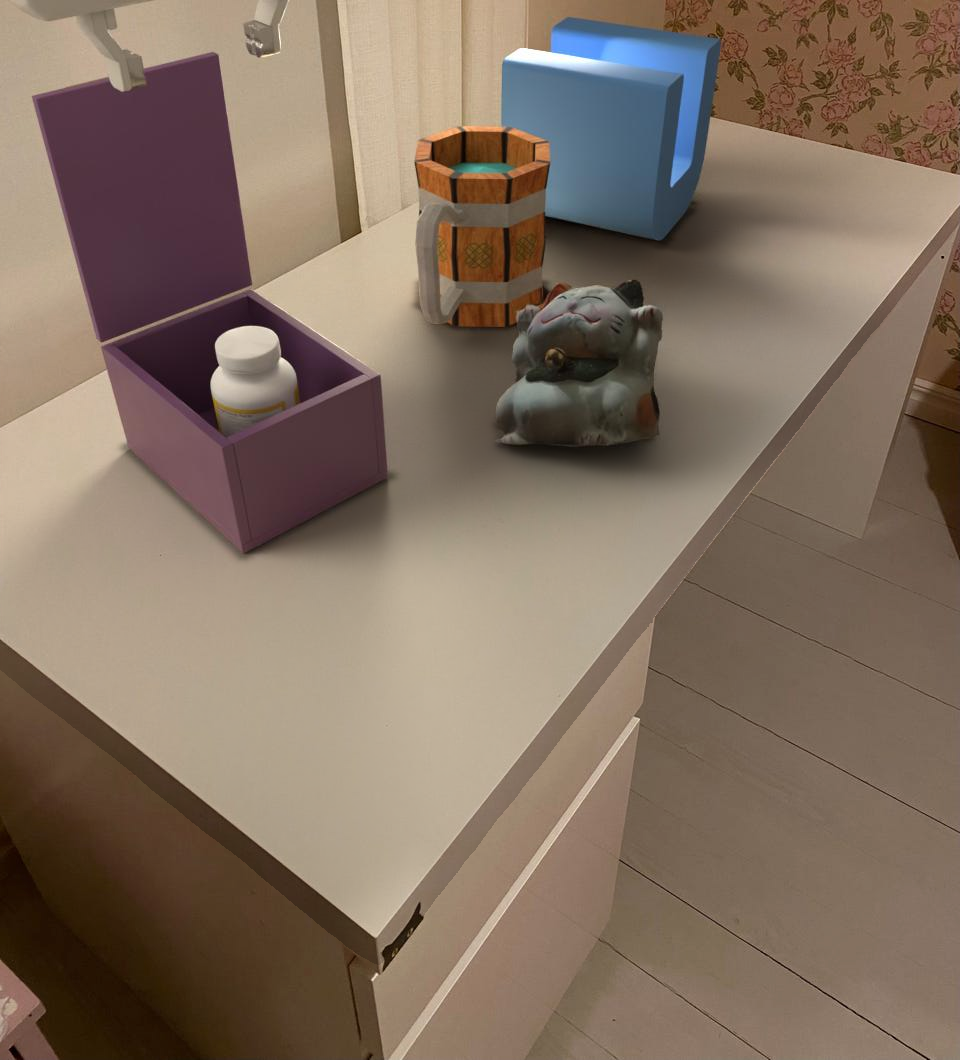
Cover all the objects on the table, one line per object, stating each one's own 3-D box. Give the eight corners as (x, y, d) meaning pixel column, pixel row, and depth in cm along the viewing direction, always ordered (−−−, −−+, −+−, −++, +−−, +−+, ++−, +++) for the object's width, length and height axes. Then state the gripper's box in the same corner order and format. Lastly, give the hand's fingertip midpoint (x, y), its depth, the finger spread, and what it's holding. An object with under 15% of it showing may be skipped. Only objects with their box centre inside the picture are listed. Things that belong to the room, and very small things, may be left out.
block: (561, 168, 132) (570, 15, 120) (698, 195, 126) (722, 37, 114) (499, 224, 120) (502, 60, 108) (647, 257, 114) (667, 87, 102)
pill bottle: (278, 432, 88) (259, 309, 80) (324, 466, 85) (309, 342, 77) (211, 464, 85) (185, 340, 77) (257, 502, 81) (234, 375, 74)
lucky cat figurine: (463, 441, 88) (468, 272, 85) (546, 431, 98) (554, 278, 95) (613, 463, 79) (625, 274, 76) (690, 449, 88) (703, 280, 85)
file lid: (219, 54, 75) (181, 35, 78) (36, 99, 68) (2, 77, 71) (252, 285, 88) (219, 262, 91) (101, 343, 81) (69, 316, 84)
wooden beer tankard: (450, 255, 114) (448, 116, 104) (566, 279, 110) (575, 137, 100) (364, 341, 101) (352, 191, 91) (492, 372, 97) (494, 219, 87)
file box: (388, 477, 85) (381, 374, 78) (243, 554, 78) (221, 448, 72) (266, 386, 95) (250, 288, 88) (128, 447, 88) (100, 346, 81)
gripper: (-15, -181, 48) (62, 125, 57) (345, -214, 58) (361, 48, 67) (-68, -196, 51) (12, 94, 60) (281, -225, 62) (304, 26, 71)
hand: (199, 69), depth 64 cm, fingers open, 8 cm apart
